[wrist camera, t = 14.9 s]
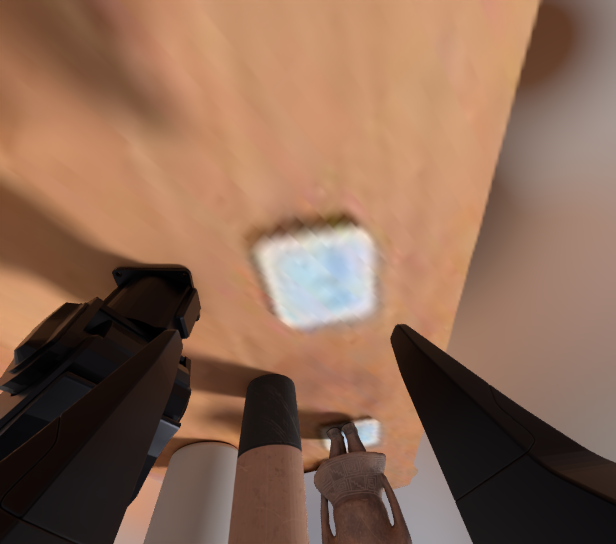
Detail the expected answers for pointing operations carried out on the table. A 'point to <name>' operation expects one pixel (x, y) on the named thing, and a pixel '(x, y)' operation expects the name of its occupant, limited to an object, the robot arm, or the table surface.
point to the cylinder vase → (195, 496)
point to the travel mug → (269, 468)
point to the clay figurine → (357, 494)
